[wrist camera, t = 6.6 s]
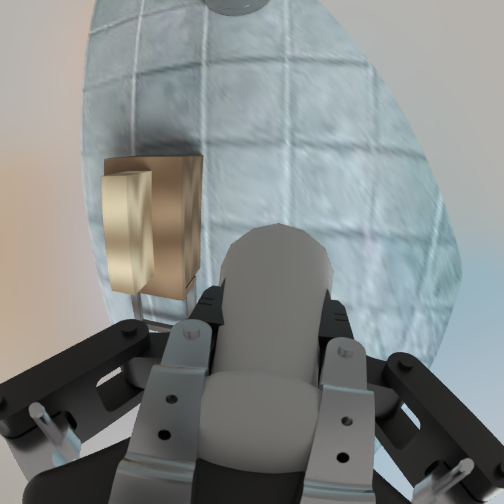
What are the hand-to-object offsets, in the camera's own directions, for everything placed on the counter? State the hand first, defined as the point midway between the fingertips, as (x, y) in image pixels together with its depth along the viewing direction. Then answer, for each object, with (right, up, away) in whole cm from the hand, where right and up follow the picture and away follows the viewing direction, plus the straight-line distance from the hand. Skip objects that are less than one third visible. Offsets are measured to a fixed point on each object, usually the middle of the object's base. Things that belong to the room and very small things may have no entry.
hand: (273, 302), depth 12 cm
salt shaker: (+1, +2, +5) cm, 5 cm away
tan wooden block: (-13, +2, +23) cm, 27 cm away
